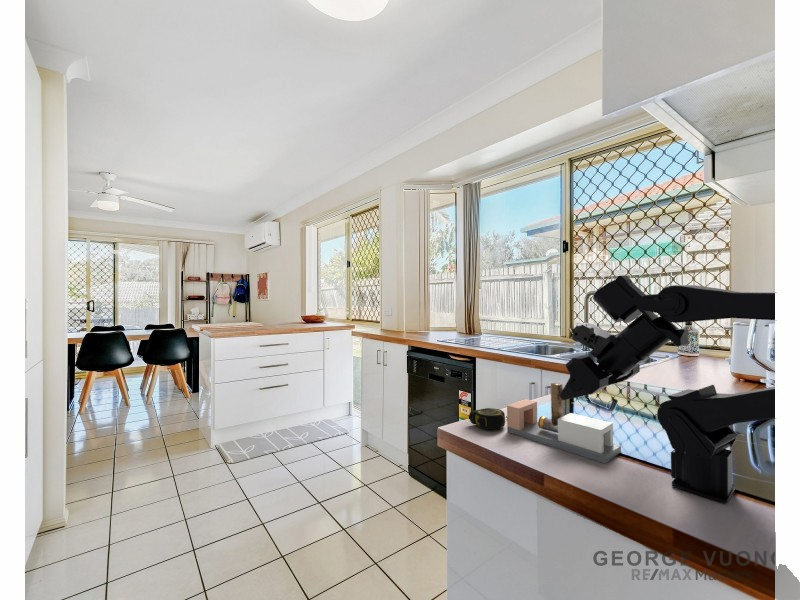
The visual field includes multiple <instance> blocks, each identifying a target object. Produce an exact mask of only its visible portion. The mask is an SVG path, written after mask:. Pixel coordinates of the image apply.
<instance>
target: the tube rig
mask: <svg viewBox="0 0 800 600" xmlns="http://www.w3.org/2000/svg"><path fill="white" fill-rule="evenodd" d="M506 420H507V423H506V424H507V425H506V427H507V433H511V434H513V435H516V436H519V437H522V438H526V439H528V440H532V441H534V442H537V443H541V444H545V445H546V446H550V447H553V448H556V449H559V450H562V451H565V452H568V453H572V454H575V455H578V456H580V457H584V458H587V459H589V460H593V461H596V462H599V463H602V464H606V463H608V462H609V461H610V460H612V459H614V457H616V456H618V455H619V454H620V453H622V445H620V444H616V443H614V423H613V422H609V421H605V420H601V419H597V418H593V417H589V416H585V415H580V414H576V413H573V412H569V413H568V414H565V415H563V417H561V418H559V419H558V433H555V432H552V431H549V430H544V429H541V428H539V426H538V401H535V400H531V399H527V398H525V399H522V400H518V401H515V402H513V403H510V404H507V405H506ZM603 434H604V442H603Z"/></svg>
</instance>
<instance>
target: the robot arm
mask: <svg viewBox="0 0 800 600" xmlns="http://www.w3.org/2000/svg"><path fill="white" fill-rule="evenodd" d="M775 293H776V292H756V291H755V292H747V291H746V292H744V291H743V292H742V291H736V290H735V291H734V290H730V289H729V290H728V289H723V288H722V289H721V288H718V287H709V286H702V285H695V284H682V285H681V284H680V285H679V284H678V285H675V284H674V285H668V286H665V287H663V288H662V289H661V290H660V291H659V292H658V293H655V294H654V293H653V294H649V293H648V294H646V293H644V292H643V290H641V289H640V288H639V287H638V286H637V285H636V284H635V283H634V282H633V281H632V279H631V277H629V276H628V275H621V274H620V275H618V276H617V277H616V278H615V279H613V280H611V281H609V282H608V283H606V284H605V285H603V286H601V287H599V288H598V289H597V290H596V291H595V293H593V296H592V300H593V301H594V302H595V303H596V304H597V305H598V306H599V307H600V308H601V309H602V310H603V312H605V314H607V315H608V317H610V318H611V319H612V320H613V321H614V323H621V322H622V323H624V324H628V323H629V324H628V325H627V326H626V327H624V328H623V330H621V331H619V332H618V333H617V334H616V333H615V334H614V333H613V334H611V333H609V332H608V331H606V330H604V329H602V328H600V327H598V326H597V325H595V324H592V323H589V322H582V323H577V325H575V326H574V328H572V329H571V332H570V333H572V336H571V339H572V341H574V342H575V343H579V344H581V345H583V346H585V347H587V348H588V349H591V351H589V353H590V355H592V357H593V358H596V360H595V361H596V362H597V363H596V362H595V361H594V360H593V358H592V357H591V356H589V355H588V356H587V355H579V356H575V357H572V358H571V359H570V360H569V361H568V362H566V363H565V368H566V369H567V372H568V373H569V378H568V380H567V381H566V383H565V385H564V386H563V390H562V392H561V393H560V395H559V396H560V398H561V399H562V400H563V401H565V400H570V399H575V398H579V397H580V398H581V397H586V396H588V395H589V396H590V395H593V394H596V393H599V391H601V390H603V389H604V388H606V387H607V386H611V385H614V384H618V383H622V382H624V381H627V380H629V379H632V378H633V377H635V376H636V375H638V373H640V371H641V369H640V364H641V363H644V362H646V361H648V360H649V359H650V358H651V356H652V355H653V354H654V353H655V352H657V351H658V350H659V349H661V348H662V347H664V346H665V345H666V344H667V343H669V342H670V341H671V343H673V344H674V345H675V347H687V346H689V344H690V343H689V333H690V330H689V329H687V328H679V327H678V326H676V325H675V323H677V324H678V323H689V322H690V323H691V322H702V321H713V320H725V319H743V320H761V321H763V320H765V321H776V320H775ZM655 313H656V314H655ZM657 314H658V315H659V316H658V315H657ZM630 322H631V323H630ZM667 398H668V399H669V400H665V401H663V402H661V403H660V404H659V407H658V409H657V411H656V413H657V414H656V415H657V416H656V417H657V420H658V423H659V424H660V426H661V427H662V429H663V430H664V431H665V433H666V435H667V438H668V440H669V444H670V446H671V448H672V449H673V450H671V452H670V476H671V478H672V479H673V480H672V481H671V486H672V487H673V488H677V489H679V490H683V491H686V492H688V493H692V494H696V495H698V496H701V497H703V498H707V499H711V500H713V501H716V502H720V503H723V504H727V503H729V500H730V499H731V498H732V496H733V493H734V492H735V490H736V485H735V484H733V451H732V450H731V449H728V448H729V447H733V446H734V445H735V443H736V441H737V439H738V437H739V434H738V433H737V432H736V431H735V429H733V428H732V427H731V426H733V425H736V424H739V423H740V424H741V423H749V422H756V421H757V422H758V421H764V420H772V419H773V420H774V419H776V418H775V386H770V387H769V386H768V387H765V388H759V389H758V388H757V389H753V390H748V391H742V392H737V393H736V392H735V393H718V392H717V390H716V387H715V384H711V385H708V386H705V387H701V388H699V389H689V388H688V389H684V390H681V391H679V392H676V393H673V394H670V395H668V396H667Z"/></svg>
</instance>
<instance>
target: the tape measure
mask: <svg viewBox="0 0 800 600" xmlns="http://www.w3.org/2000/svg"><path fill="white" fill-rule="evenodd" d="M505 414H506V413H505V411H503V410H502V409H500V408H499V409H498V408H491V407H489V408H481V409H475V410H471V411H470V412H469V414H467V415H468V420H469V421H470V423H471V424H473V425H476V426H477V427H478V428H481V429H484V430H492V431H493V430H497V429H498V430H499V429H502V428H503V427H505V426H506V425H505V424H506V415H505Z"/></svg>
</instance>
